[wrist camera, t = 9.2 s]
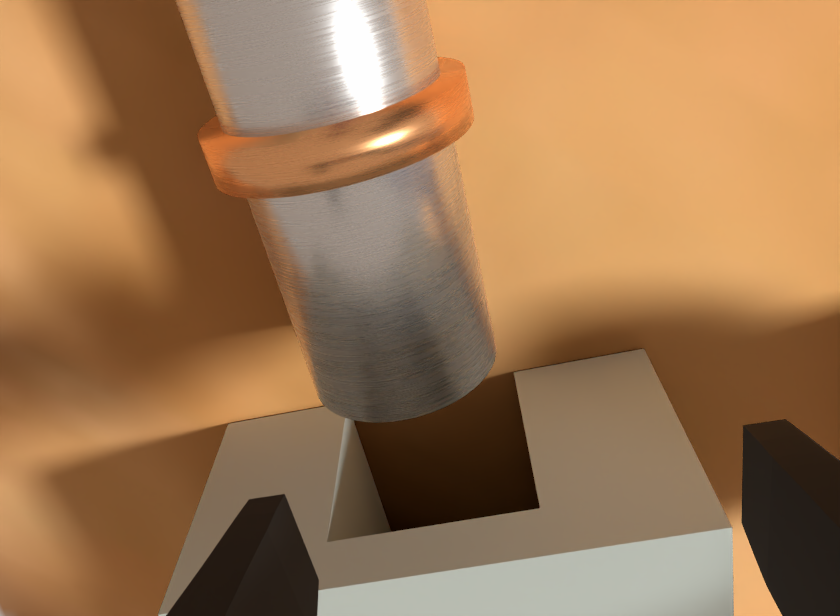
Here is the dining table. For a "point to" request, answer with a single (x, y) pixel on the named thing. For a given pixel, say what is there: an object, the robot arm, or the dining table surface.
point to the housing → (506, 533)
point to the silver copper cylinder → (352, 191)
